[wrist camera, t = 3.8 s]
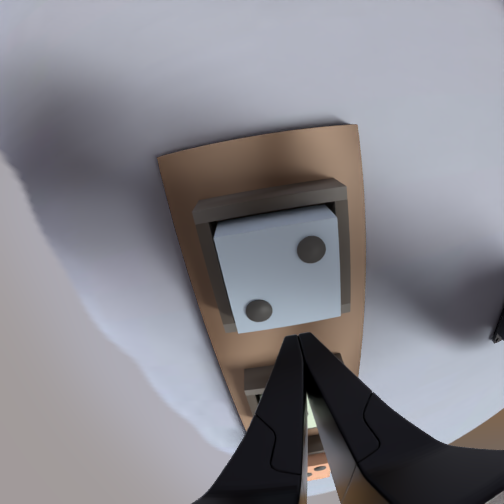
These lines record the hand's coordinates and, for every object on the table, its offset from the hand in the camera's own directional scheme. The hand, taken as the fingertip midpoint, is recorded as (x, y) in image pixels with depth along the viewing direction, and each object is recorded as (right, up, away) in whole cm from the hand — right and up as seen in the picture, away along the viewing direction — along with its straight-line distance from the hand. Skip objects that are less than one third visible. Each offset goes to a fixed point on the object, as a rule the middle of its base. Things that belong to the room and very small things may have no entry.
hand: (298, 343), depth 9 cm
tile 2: (0, +3, +5) cm, 6 cm away
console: (+2, -7, +12) cm, 14 cm away
